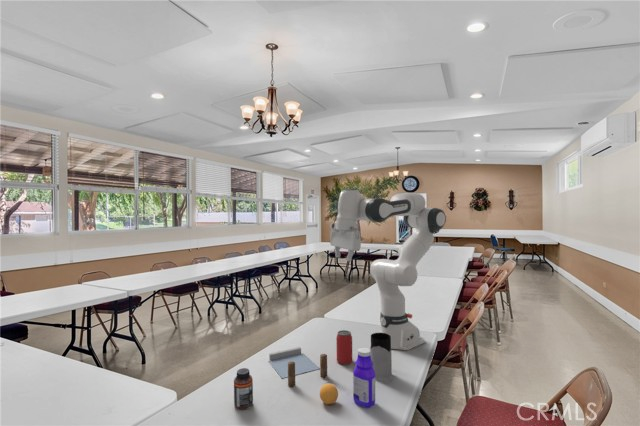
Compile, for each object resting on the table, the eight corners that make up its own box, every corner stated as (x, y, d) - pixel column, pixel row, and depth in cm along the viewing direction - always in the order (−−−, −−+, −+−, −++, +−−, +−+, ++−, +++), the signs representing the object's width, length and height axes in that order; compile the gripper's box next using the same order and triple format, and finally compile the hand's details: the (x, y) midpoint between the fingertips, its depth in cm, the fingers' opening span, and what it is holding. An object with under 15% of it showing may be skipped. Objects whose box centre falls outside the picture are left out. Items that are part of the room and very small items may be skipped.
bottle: (378, 403, 107) (378, 350, 107) (369, 411, 103) (368, 355, 103) (360, 395, 112) (359, 344, 112) (350, 402, 108) (349, 349, 108)
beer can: (351, 365, 134) (351, 336, 134) (335, 364, 135) (335, 335, 135) (353, 358, 140) (352, 330, 140) (337, 357, 142) (337, 329, 141)
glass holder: (367, 379, 123) (366, 338, 123) (375, 362, 136) (374, 326, 136) (390, 383, 120) (390, 342, 120) (396, 366, 133) (396, 328, 133)
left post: (293, 382, 121) (293, 360, 121) (296, 385, 119) (296, 363, 119) (287, 384, 120) (286, 362, 120) (289, 387, 118) (289, 365, 117)
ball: (332, 395, 112) (332, 378, 112) (341, 405, 107) (341, 386, 107) (316, 400, 109) (316, 382, 109) (325, 410, 104) (324, 391, 104)
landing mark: (303, 353, 145) (303, 353, 145) (320, 368, 131) (320, 368, 131) (268, 361, 138) (268, 361, 138) (282, 378, 124) (282, 378, 124)
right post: (325, 374, 127) (325, 353, 127) (328, 377, 125) (328, 356, 125) (319, 375, 126) (318, 354, 126) (322, 378, 123) (322, 357, 123)
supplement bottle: (235, 400, 110) (235, 366, 110) (254, 399, 110) (253, 365, 110) (232, 411, 104) (232, 375, 104) (251, 410, 105) (251, 374, 104)
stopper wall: (299, 352, 147) (299, 347, 147) (301, 353, 145) (301, 348, 145) (269, 359, 140) (269, 353, 140) (270, 360, 139) (270, 354, 139)
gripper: (366, 228, 132) (362, 263, 132) (341, 225, 151) (338, 255, 150) (352, 227, 129) (349, 262, 129) (329, 224, 148) (325, 255, 148)
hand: (343, 258), depth 140 cm, fingers open, 8 cm apart
